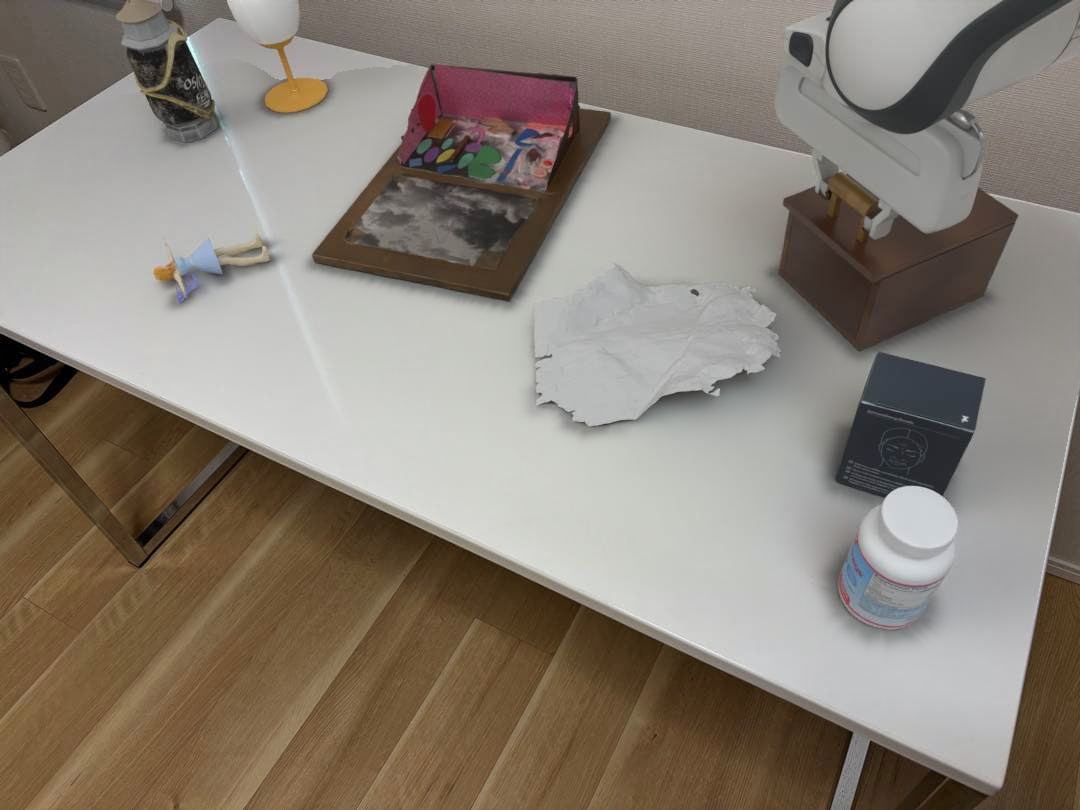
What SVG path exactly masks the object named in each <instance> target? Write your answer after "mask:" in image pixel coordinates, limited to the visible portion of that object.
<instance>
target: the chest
mask: <svg viewBox="0 0 1080 810" xmlns="http://www.w3.org/2000/svg"><path fill="white" fill-rule="evenodd" d="M1015 225H1016V222H1014V223H1012V224H1010V225H1007V226H1005V227H1003V228H1000V229H998V230H996V231H993V232H991V233H989V234H986V235H984V236H982V237H979V238H977V239H975V240H972V241H970V242H968V243H965V244H963V245H961V246H958V247H956V248H954V249H951V250H949V251H947V252H944V253H942V254H939V255H937V256H935V257H932V258H930V259H928V260H925V261H923V262H921V263H918V264H916V265H914V266H911V267H909V268H907V269H904V270H902V271H900V272H897V273H895V274H893V275H890V276H888V277H886V278H883V279H881V280H879V281H876V282H874V283H872V282H870V281H869V280H868V279H867V278H866V277H865V276H864V275H862V274H861V273H860V272H859V271H858V270H857V269H856V268H854V267H853V266H852V265H851V264H850V263H849V262H848V261H846V260H845V259H844V258H843V257H842V256H841V255H839V254H838V253H837V252H836V251H835V250H834V249H833V248H831V247H830V246H829V245H828V244H827V243H826V242H825V241H823V240H822V239H821V238H820V237H819V236H818V235H817V234H815V233H814V232H813V231H812V230H811V229H810V228H808V227H807V226H806V225H805V224H804V223H803V222H802V221H800V220H799V219H798V218H797V217H796V216H795V215H794V214H792V213H791V212H790V211H789V210H788V217H787V223H786V227H785V232H784V238H783V243H782V244H783V245H782V249H781V256H780V261H779V267H778V273H777V274H778V275H779V276H780V277H781V278H782V279H783V280H784V281H785V282H787V284H788V285H790V286H791V288H793V289H794V290H795V291H796V292H797V293H798V294H799V295H800V296H801V297H802V298H803V299H804V300H805V301H806V302H807V303H808V304H809V305H810V306H812V307H813V309H814V310H815V311H816V312H818V313H819V314H820V315H821V316H822V317H823V318H824V319H825V320H826V321H827V322H828V323H829V324H830V325H831V326H832V327H833V328H834V329H835V330H836V331H837V332H838V333H839V334H840V335H842V336H843V337H844V338H845V340H847V341H848V342H849V343H850V344H851V345H852V346H853V347H854V348H855V349H856V350H857V351H858V352H861V351H863V350H865V349H868V348H870V347H872V346H874V345H876V344H879V343H882V342H883V341H885V340H889V339H890V338H892V337H894V336H896V335H899V334H901V333H904V332H906V331H908V330H910V329H912V328H914V327H917V326H919V325H922V324H924V323H926V322H928V321H931V320H934V319H935V318H936V317H939V316H942V315H944V314H946V313H948V312H952V310H955V309H957V308H959V307H962V306H964V305H966V304H968V303H971V302H972V301H975V300H977V299H979V298H982V297H984V295H985V293H986V291H987V288H988V286H989V284H990V282H991V280H992V277H993V275H994V272H995V271H996V269H997V266H998V263H999V262H1000V259H1001V257H1002V254H1003V252H1004V250H1005V248H1006V246H1007V243H1008V242H1009V239H1010V238H1011V237H1010V236H1011V234H1012V232H1013V230H1014V228H1015Z"/></svg>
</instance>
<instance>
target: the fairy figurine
mask: <svg viewBox="0 0 1080 810" xmlns="http://www.w3.org/2000/svg"><path fill="white" fill-rule="evenodd" d="M162 239H163V242H164V245H165V248H166V250H167V256H168V258H169V260H170V263H167V264H166V265H158V266H156V267H154V268H153V277H154V278H155V279H156V280H157V281H161V282H167V281H168V282H170V281H172V280H173V281H174V283H175V282H176V283H175V289H176V296H177V301H178V304H181V303H182V302H183V301H185V299H188V295H189V294H190V292H191V291H192V290H195V289H196V288H197V287H198V285H199V282H198V278H197V276H196V274H195V273H193V272H191V276H192V277H191V279H193V280H194V281H192V280H190V278H189V277H187V276H185V275H189V271H190V270H191V269H192V270H193V269H195V270H197V271H200V272H205V273H210V274H215V275H221V276H223V275H224V273H223V270H222V268H221V266H223V265H232V266H237V267H238V266H239V267H247V266H251V265H255V264H259V263H260V264H261V263H267V262H270V261H271V259H270V255H269V252H268V249H267V247H266V245H263V242H262V239H261V236H260V233H259V231H257V230H256V231H255V232H254V240H253V241H251V242H249V243H243V244H241V243H240V244H236V245H232V246H229V247H219V248H214V246H213V244H212V242H211V239H210V237H207V239H206V240H205V241H203V242H202V244H200V245H199V247H198V248H197V249H195V250H194V252H193V253H191V254H190V255H189V256H188V257H187V256H186V257H185V258H183V257H182V256H176V257H175V258H174V256H173V253H172V251H171V250H170V247H169V246H168V243H167V242H166V239H165V238H164V237H163V238H162ZM259 248H261V254H260V255H259V256H255V257H230V256H237V255H241V254H243V253H245V252H248V251H250V250H253V249H254V250H255V249H259ZM220 256H221V257H220ZM223 256H224V257H223ZM225 256H226V257H225ZM228 256H229V257H228ZM183 277H185V278H186V279H187V280H188V281H185V280H184V278H183ZM190 282H191V283H193V284H192V286H191V285H187V284H189V283H190ZM177 284H178V285H179V290H178V286H177ZM180 291H181V292H182V294H181V292H180Z"/></svg>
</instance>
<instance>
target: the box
mask: <svg viewBox="0 0 1080 810" xmlns="http://www.w3.org/2000/svg"><path fill="white" fill-rule="evenodd" d="M986 382H987V380H986V377H984V376H983V377H982V376H978V375H973V374H972V373H971V374H970V373H966V372H962V371H958V370H954V369H950V368H947V367H942V366H938V365H934V364H931V363H926V362H923V361H919V360H914V359H910V358H907V357H902V356H898V355H894V354H890V353H886V352H882V351H877V352H876V354H875V356H874V359H873V362H872V365H871V367H870V370H869V372H868V376H867V378H866V381H865V384H864V386H863V387H864V388H863V390H862V393H861V396H860V399H859V402H858V405H857V408H856V411H855V414H854V418H853V421H852V424H851V427H850V431H849V434H848V436H847V440H846V443H845V446H844V450H843V453H842V457H841V460H840V462H839V466H838V469H837V472H836V475H835V481H836V482H837V483H839V484H842V485H846V486H848V487H852V488H855V489H859V490H862V491H864V492H867V493H871V494H874V495H878V496H881V497H883V498H886V496H887V495H888V494H889V493H891V492H892V491H893V490H895V489H897V488H900V487H904V486H919V487H924V488H927V489H930V490H932V491H934V492H936V493H938V494H940V495H941V496H942V497H944V495H945V493H946V491H947V490H948V489H947V488H948V487H949V485H950V482H951V480H952V479H953V476H954V474H955V472H956V470H957V469H958V466H959V464H960V463H961V461H962V458H963V457H964V454H965V452H966V450H967V449H968V446H969V444H970V442H971V441H972V438H973V436H974V434H975V432H976V429H977V423H978V419H979V415H980V409H981V405H982V400H983V394H984V391H985V386H986Z"/></svg>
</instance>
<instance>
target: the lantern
mask: <svg viewBox="0 0 1080 810" xmlns="http://www.w3.org/2000/svg"><path fill="white" fill-rule="evenodd" d="M162 10H163V6H162V4H161V3H159V2H155V1H150V0H125V3H124V5H123V7H122V8H121V9H120V10H119V11H118V13H117V14H116V15H115V19H116V20H117V21H119V23H120V24H121V27H122V29H123V32H124V34H123V35H122V38H121V42H120V43H121V46H123V47H126V58H127V60H128V62H129V64H130V67H131V68H132V71H133V76H134V80H135V83H136V85H137V86H138V88H139V89H140V90H139V91H140V93H141V94H142V95H144V96H145V98H146V100H147V102H148V104H149V106H150V109H151V111H152V113H153V115H154V116H155V118H156V119H158V120H159V121H161V122H162V124H163V125H164V126H165V129H166V132H167V134H168V136H169V138H171V139H173V140H176V141H179V142H182V143H190V142H195V141H199V140H203V139H204V138H205V137H207V136H208V135H209V134H211V133H212V132H214V131H215V130H216V129H218V121H219V120H218V117H217V115H216V112H215V111H216V101H215V99H213V98H212V94H211V91H210V89H209V88H208V86H207V83H206V81H205V79H204V77H203V74H202V72H201V71H200V68H199V66H198V64H197V62H196V60H195V58H194V56H193V54H192V51H191V50H190V47H189V45H188V42H187V41H188V34H187V33H186V31H185V30H184V28H183V27H182V26H181V25H180V24H178V23H177V22H175V21H174V20H171V19H167V18H166V16H165V14H164V11H162Z"/></svg>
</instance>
